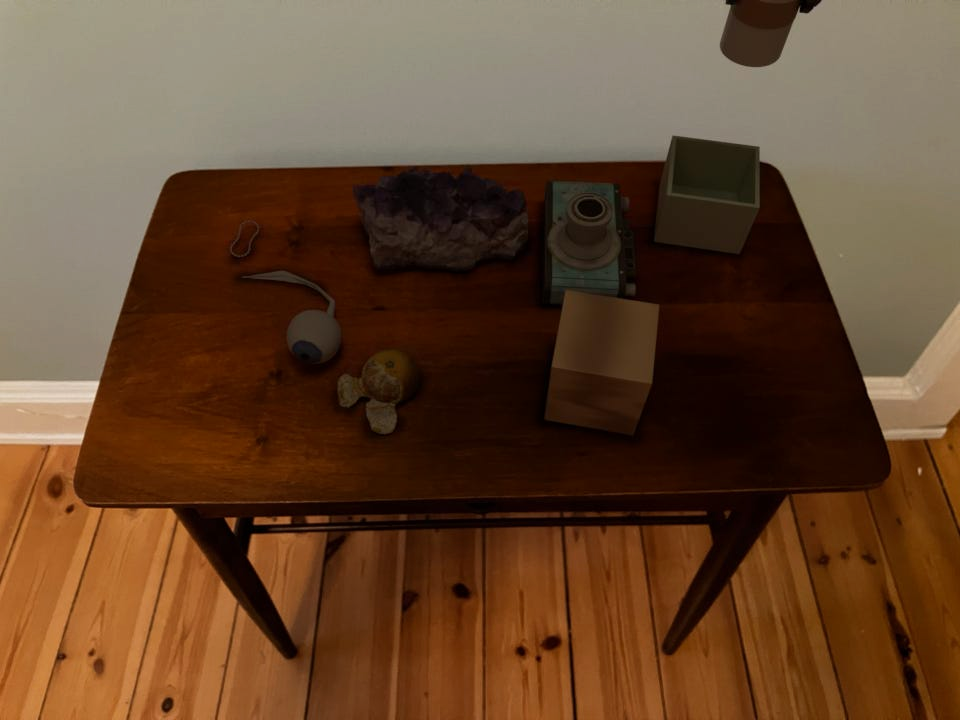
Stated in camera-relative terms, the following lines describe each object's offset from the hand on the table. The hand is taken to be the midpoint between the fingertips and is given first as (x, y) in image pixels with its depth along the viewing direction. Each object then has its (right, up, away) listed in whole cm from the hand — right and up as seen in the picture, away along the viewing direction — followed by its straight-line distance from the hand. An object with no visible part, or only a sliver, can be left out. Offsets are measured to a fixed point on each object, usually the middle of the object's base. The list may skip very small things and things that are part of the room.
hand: (768, 6), depth 63 cm
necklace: (-53, -16, +25) cm, 60 cm away
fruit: (-35, -34, +13) cm, 51 cm away
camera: (-12, -18, +24) cm, 32 cm away
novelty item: (-46, -26, +19) cm, 56 cm away
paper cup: (0, -1, +5) cm, 6 cm away
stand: (-13, -33, +13) cm, 38 cm away
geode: (-29, -16, +25) cm, 41 cm away
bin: (+2, -13, +26) cm, 30 cm away
